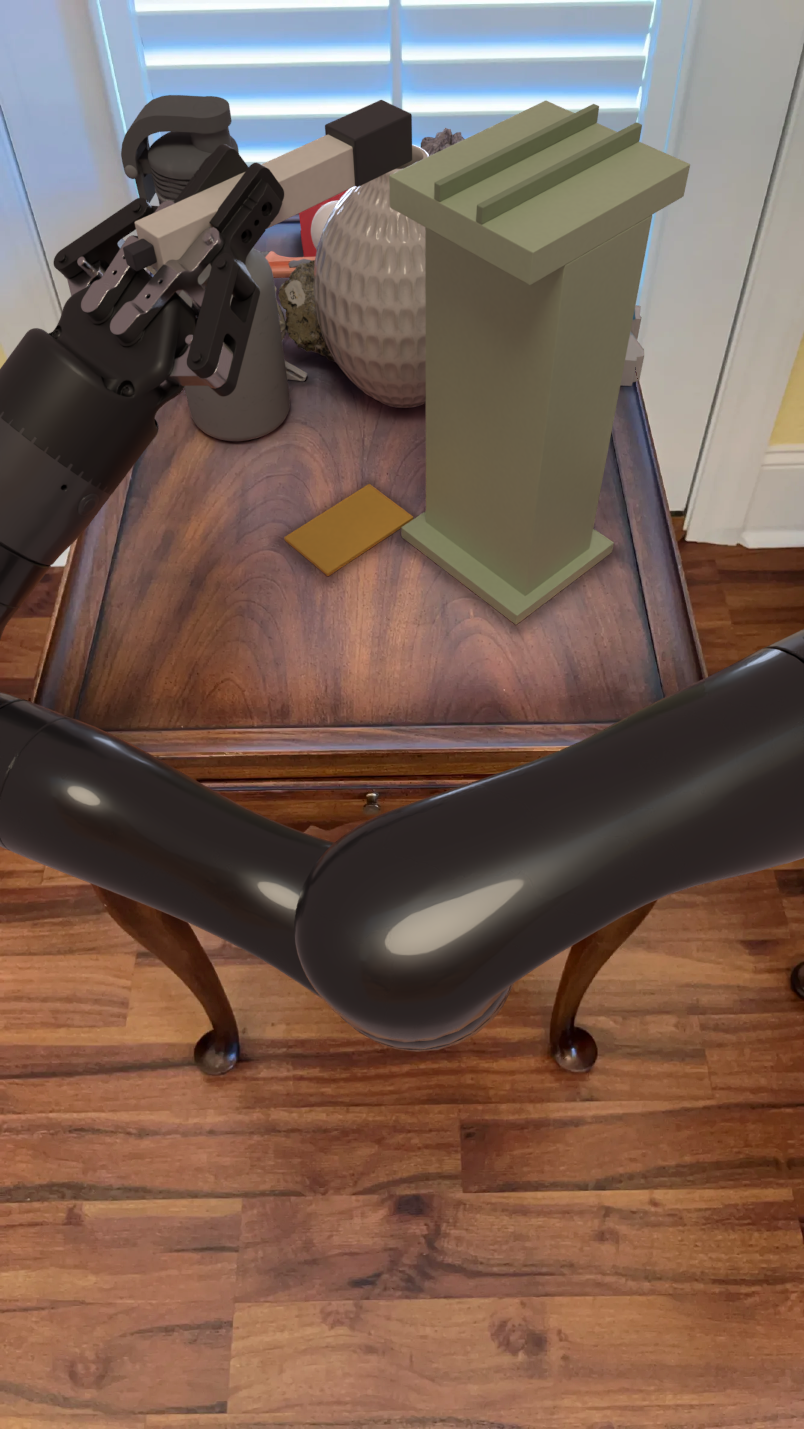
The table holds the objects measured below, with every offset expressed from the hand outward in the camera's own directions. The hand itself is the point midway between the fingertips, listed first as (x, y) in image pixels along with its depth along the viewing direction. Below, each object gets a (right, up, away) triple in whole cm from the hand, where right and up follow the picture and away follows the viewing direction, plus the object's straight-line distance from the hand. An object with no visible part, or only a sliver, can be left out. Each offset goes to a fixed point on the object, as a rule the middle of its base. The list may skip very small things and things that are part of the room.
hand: (254, 168), depth 48 cm
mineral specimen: (+10, +35, +54) cm, 65 cm away
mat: (+3, -10, +40) cm, 41 cm away
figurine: (-1, +18, +48) cm, 51 cm away
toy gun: (+24, +8, +50) cm, 56 cm away
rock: (+2, +10, +54) cm, 55 cm away
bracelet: (-8, +12, +55) cm, 57 cm away
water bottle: (-9, +3, +49) cm, 50 cm away
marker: (+1, -1, +3) cm, 3 cm away
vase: (+7, +6, +51) cm, 52 cm away
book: (+3, +23, +63) cm, 67 cm away
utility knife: (-10, +22, +58) cm, 63 cm away
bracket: (-9, +8, +53) cm, 54 cm away
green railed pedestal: (+16, -12, +38) cm, 43 cm away
